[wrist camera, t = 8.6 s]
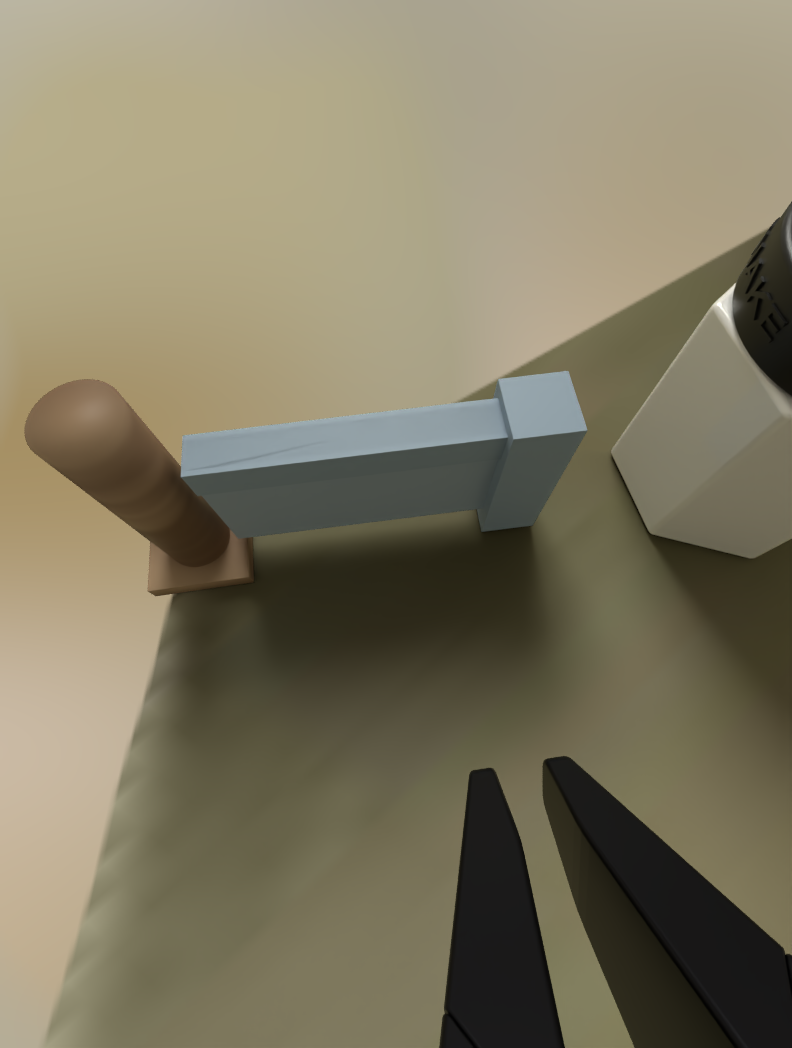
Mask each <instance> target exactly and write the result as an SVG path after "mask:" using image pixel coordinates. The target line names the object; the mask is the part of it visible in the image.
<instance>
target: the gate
mask: <svg viewBox="0 0 792 1048" xmlns="http://www.w3.org/2000/svg"><path fill="white" fill-rule="evenodd" d="M586 432H587V427H586V424H585V421H584V418H583V415H582V412H581V409H580V406H579V403H578V400H577V397H576V394H575V391H574V388H573V384H572V381H571V378H570V375H569V372H568V371H564V372H555V373H547V374H538V375H530V376H521V377H513V378H504V379H498V382H497V386H496V390H495V394H494V398H493V399H486V400H478V401H469V402H461V403H453V404H444V405H436V406H428V407H419V408H411V409H403V410H394V411H385V412H377V413H369V414H360V415H352V416H344V417H335V418H327V419H318V420H310V421H301V422H293V423H285V424H277V425H268V426H259V427H251V428H242V429H234V430H226V431H217V432H209V433H200V434H192V435H184V436H183V441H182V442H183V443H182V461H181V478H182V479H183V480H184V481H185V482H186V484H187V485H188V486H189V487H190V488H191V489H192V490H193V492H194V493H195V494H196V495H197V496H202V497H203V498H204V499H205V500H206V501H207V503H208V504H209V505H210V506H211V507H212V508H213V510H214V511H215V512H216V513H217V514H218V516H219V517H220V518H221V519H222V520H223V521H224V523H225V524H226V525H227V526H228V527H229V528H230V530H231V531H232V532H233V533H234V534H235V535H236V537H237V538H238V539H241V538H249V537H257V536H265V535H273V534H281V533H289V532H297V531H305V530H313V529H321V528H329V527H337V526H345V525H353V524H361V523H369V522H377V521H385V520H393V519H401V518H409V517H417V516H425V515H433V514H441V513H449V512H457V511H465V510H473V509H477V513H478V518H479V523H480V527H481V532H485V531H493V530H501V529H508V528H516V527H524V526H532V525H533V524H534V522H535V521H536V519H537V517H538V515H539V514H540V512H541V510H542V508H543V507H544V505H545V503H546V501H547V500H548V498H549V496H550V495H551V493H552V491H553V489H554V488H555V486H556V484H557V482H558V481H559V479H560V477H561V475H562V474H563V472H564V470H565V469H566V467H567V465H568V463H569V462H570V460H571V458H572V456H573V455H574V453H575V451H576V449H577V448H578V446H579V444H580V442H581V441H582V439H583V437H584V436H585V434H586Z"/></svg>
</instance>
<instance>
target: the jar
mask: <svg viewBox="0 0 792 1048" xmlns="http://www.w3.org/2000/svg"><path fill="white" fill-rule="evenodd" d="M751 255H752V256H751V258H750V260H749V261H748V263H747V265H746V267H745V268H744V269H743V271H742V272H741V274H740V276H739V278H738V280H737V282H736V283H735V284H734V285H733V286H732V287H731V288H730V289H729V290H728V291H727V292H726V293H725V294H724V295H722V296H721V297H720V298H719V299H718V300H717V301H716V302H715V303H714V304H713V305H712V306H711V308H710V309H709V311H708V312H707V314H706V315H705V317H704V318H703V319H702V321H701V322H700V324H699V325H698V327H697V328H696V329H695V331H694V332H693V334H692V335H691V337H690V338H689V339H688V341H687V342H686V344H685V345H684V347H683V348H682V350H681V351H680V352H679V354H678V355H677V357H676V358H675V359H674V361H673V362H672V363H671V365H670V366H669V368H668V370H667V371H666V372H665V374H664V375H663V377H662V378H661V380H660V381H659V382H658V384H657V385H656V387H655V388H654V390H653V391H652V392H651V394H650V395H649V397H648V398H647V400H646V401H645V403H644V404H643V405H642V407H641V408H640V410H639V411H638V413H637V414H636V415H635V417H634V418H633V420H632V421H631V423H630V424H629V425H628V427H627V428H626V430H625V431H624V433H623V434H622V435H621V437H620V438H619V440H618V441H617V443H616V444H615V445H614V447H613V448H612V451H611V453H612V456H613V458H614V460H615V462H616V465H617V467H618V469H619V471H620V473H621V475H622V477H623V479H624V481H625V483H626V485H627V487H628V490H629V492H630V494H631V496H632V498H633V500H634V502H635V504H636V506H637V508H638V510H639V513H640V515H641V517H642V519H643V521H644V523H645V525H646V527H647V529H648V531H649V532H650V533H651V534H653V535H657V536H661V537H665V538H669V539H673V540H677V541H681V542H685V543H689V544H693V545H697V546H701V547H705V548H709V549H713V550H717V551H721V552H726V553H730V554H734V555H738V556H742V557H746V558H752V559H753V558H756V557H758V556H760V555H762V554H764V553H766V552H768V551H770V550H771V549H773V548H775V547H777V546H779V545H781V544H783V543H785V542H787V541H789V540H791V539H792V202H791V204H790V205H789V206H788V208H787V209H786V210H785V212H784V213H783V215H782V216H781V217H779V218H778V219H777V220H776V221H775V222H774V223H773V224H772V226H771V227H770V228H769V230H768V231H767V232H766V234H765V235H764V237H763V238H762V240H761V241H760V242H759V244H758V245H757V247H756V248H755V250H754V251H753V253H752V254H751Z"/></svg>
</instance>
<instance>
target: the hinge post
mask: <svg viewBox="0 0 792 1048" xmlns="http://www.w3.org/2000/svg"><path fill="white" fill-rule="evenodd" d="M25 438H26V442H27V444H28V446H29V447H30V449H31V450H32V451H33V452H34V453H35V454H36V455H38V456H39V457H40V458H42V459H43V460H44V461H45V462H47V463H48V464H50V465H51V466H52V467H53V468H55V469H56V470H57V471H59V472H60V473H61V474H63V475H64V476H65V477H66V478H68V479H69V480H70V481H72V482H73V483H74V484H76V485H77V486H79V487H80V488H81V489H82V490H84V491H85V492H86V493H87V494H89V495H90V496H91V497H93V498H94V499H95V500H97V501H98V502H99V503H101V504H102V505H103V506H105V507H106V508H107V509H108V510H110V511H111V512H112V513H114V514H115V515H117V516H118V517H119V518H120V519H122V520H123V521H124V522H126V523H127V524H128V525H129V526H131V527H132V528H133V529H135V530H136V531H137V532H139V533H140V534H141V535H143V536H144V537H145V538H147V539H148V540H149V541H150V557H149V575H148V592H150V593H151V594H153V595H155V596H160V595H167V594H175V593H182V592H189V591H196V590H203V589H210V588H217V587H224V586H231V585H238V584H245V583H252V582H254V566H253V537H249V538H241V539H238V538H237V537H236V535H235V534H234V533H233V532H232V531H231V530H230V528H229V527H228V526H227V525H226V524H225V523H224V521H223V520H222V519H221V518H220V517H219V516H218V514H217V513H216V512H215V511H214V510H213V508H212V507H211V506H210V505H209V504H208V503H207V501H206V500H205V499H204V498H203V497H202V496H197V495H196V494H195V493H194V492H193V490H192V489H191V488H190V487H189V486H188V485H187V484H186V482H185V481H184V480H183V479H182V478H181V466H180V465H179V464H178V463H177V461H176V460H175V459H174V458H173V457H172V455H171V454H170V453H169V452H168V451H167V450H166V448H165V447H164V446H163V445H162V443H161V442H160V441H159V440H158V439H157V438H156V437H155V435H154V434H153V433H152V432H151V431H150V429H149V428H148V427H147V426H146V424H145V423H144V422H143V421H142V420H141V418H140V417H139V416H138V415H137V414H136V413H135V411H134V410H133V409H132V408H131V407H130V405H129V404H128V403H127V402H126V401H125V399H124V398H123V397H122V396H121V395H120V393H119V392H118V391H117V390H116V389H115V388H114V387H113V386H111V385H109V384H107V383H105V382H102V381H99V380H90V379H84V380H76V381H72V382H68V383H65V384H63V385H60V386H58V387H56V388H54V389H53V390H51V391H50V392H48V393H47V394H46V395H44V396H43V397H42V398H41V399H40V400H39V401H38V402H37V403H36V404H35V405H34V407H33V408H32V410H31V412H30V413H29V415H28V417H27V420H26V424H25Z"/></svg>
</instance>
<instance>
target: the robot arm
mask: <svg viewBox="0 0 792 1048" xmlns="http://www.w3.org/2000/svg"><path fill="white" fill-rule="evenodd" d="M543 800H544V805H545V809H546V812H547V815H548V819H549V822H550V825H551V828H552V831H553V835H554V838H555V841H556V844H557V847H558V851H559V854H560V857H561V860H562V863H563V867H564V870H565V873H566V876H567V879H568V883H569V886H570V889H571V892H572V895H573V898H574V901H575V904H576V907H577V910H578V913H579V915H580V918H581V921H582V923H583V926H584V928H585V931H586V933H587V935H588V938H589V940H590V942H591V945H592V947H593V950H594V952H595V954H596V957H597V959H598V961H599V964H600V966H601V969H602V971H603V973H604V976H605V978H606V980H607V983H608V985H609V988H610V990H611V992H612V995H613V997H614V1000H615V1002H616V1004H617V1007H618V1009H619V1011H620V1014H621V1016H622V1019H623V1021H624V1023H625V1026H626V1028H627V1030H628V1033H629V1035H630V1038H631V1040H632V1042H633V1045H634V1047H635V1048H792V955H790V954H786V955H785V951H784V949H783V947H782V946H780V945H779V944H778V943H777V942H776V941H775V940H774V939H773V938H771V937H770V936H769V935H768V934H767V933H766V932H765V931H764V930H763V929H761V928H760V927H759V926H758V925H757V924H756V923H755V922H754V921H752V920H751V919H750V918H749V917H748V916H747V915H746V914H745V913H743V912H742V911H741V910H740V909H739V908H738V907H737V906H736V905H735V904H733V903H732V902H731V901H730V900H729V899H728V898H727V897H726V896H724V895H723V894H722V893H721V892H720V891H719V890H718V889H717V888H715V887H714V886H713V885H712V884H711V883H710V882H709V881H708V880H707V879H705V878H704V877H703V876H702V875H701V874H700V873H699V872H698V871H696V870H695V869H694V868H693V867H692V866H691V865H690V864H689V863H687V862H686V861H685V860H684V859H683V858H682V857H681V856H680V855H679V854H677V853H676V852H675V851H674V850H673V849H672V848H671V847H670V846H668V845H667V844H666V843H665V842H664V841H663V840H662V839H661V838H659V837H658V836H657V835H656V834H655V833H654V832H653V831H652V830H650V829H649V828H648V827H647V826H646V825H645V824H644V823H643V822H642V821H640V820H639V819H638V818H637V817H636V816H635V815H634V814H633V813H631V812H630V811H629V810H628V809H627V808H626V807H625V806H624V805H622V804H621V803H620V802H619V801H618V800H617V799H616V798H615V797H614V796H612V795H611V794H610V793H609V792H608V791H607V790H606V789H605V788H603V787H602V786H601V785H600V784H599V783H598V782H597V781H596V780H594V779H593V778H592V777H591V776H590V775H589V774H588V773H587V772H586V771H584V770H583V769H582V768H581V767H580V766H579V765H578V764H577V763H575V762H574V761H573V760H572V759H571V758H569V757H567V756H561V757H555V758H548V759H545V760H544V762H543ZM444 1011H445V1014H444V1015H443V1018H442V1027H441V1037H440V1046H439V1048H565V1046H564V1041H563V1037H562V1032H561V1027H560V1022H559V1017H558V1013H557V1008H556V1003H555V998H554V994H553V989H552V984H551V979H550V974H549V970H548V965H547V960H546V955H545V951H544V946H543V941H542V936H541V931H540V927H539V922H538V917H537V912H536V908H535V903H534V898H533V893H532V888H531V884H530V879H529V874H528V869H527V865H526V860H525V855H524V851H523V847H522V843H521V839H520V836H519V833H518V830H517V828H516V825H515V822H514V820H513V817H512V814H511V811H510V809H509V806H508V803H507V801H506V798H505V795H504V793H503V790H502V787H501V785H500V782H499V779H498V777H497V774H496V772H495V770H494V769H492V768H485V769H478V770H473V771H471V772H470V775H469V782H468V792H467V801H466V810H465V819H464V828H463V838H462V847H461V856H460V865H459V874H458V884H457V893H456V902H455V911H454V920H453V929H452V939H451V948H450V957H449V966H448V975H447V985H446V994H445V1003H444Z"/></svg>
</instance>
